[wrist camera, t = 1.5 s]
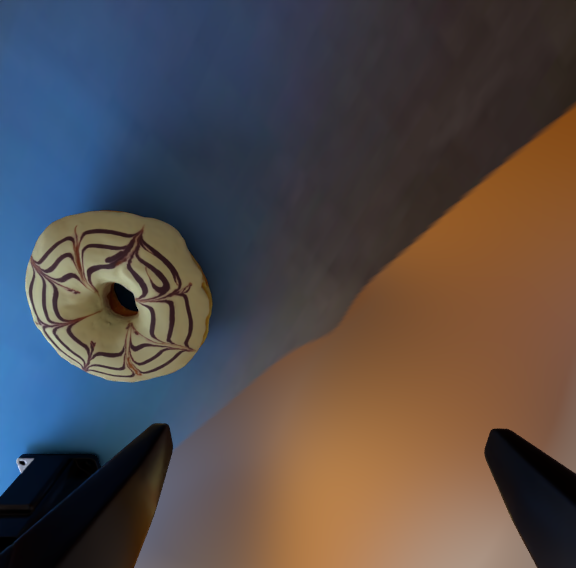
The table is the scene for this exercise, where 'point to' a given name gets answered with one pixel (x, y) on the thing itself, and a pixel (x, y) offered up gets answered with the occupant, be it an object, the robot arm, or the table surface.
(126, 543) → the robot arm
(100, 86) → the table surface
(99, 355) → the decorated donut
